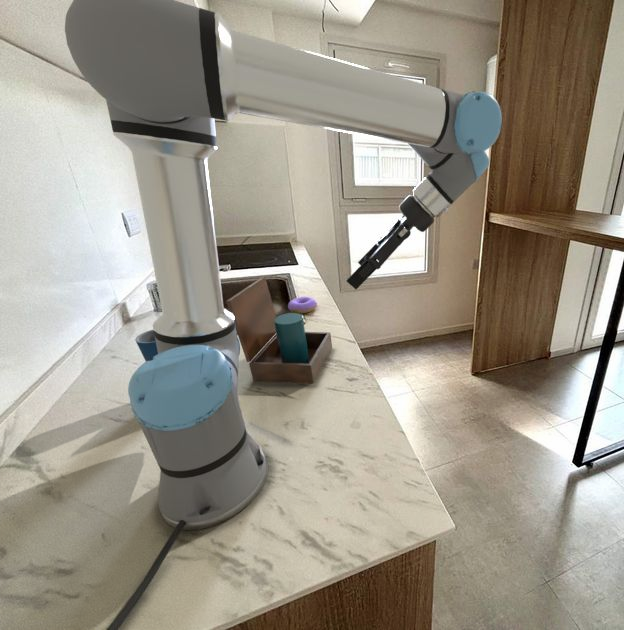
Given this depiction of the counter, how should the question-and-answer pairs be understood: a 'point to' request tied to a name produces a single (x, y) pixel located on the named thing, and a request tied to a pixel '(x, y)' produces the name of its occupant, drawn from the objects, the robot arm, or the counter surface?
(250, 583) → the counter surface
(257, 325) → the lid
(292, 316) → the can
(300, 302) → the donut
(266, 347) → the chest
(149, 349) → the cup
